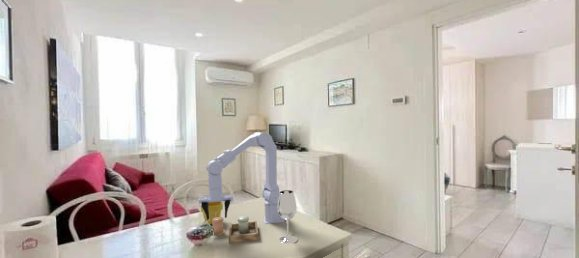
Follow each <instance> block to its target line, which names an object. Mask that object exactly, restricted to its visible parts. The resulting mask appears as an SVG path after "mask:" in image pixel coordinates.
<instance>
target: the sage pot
mask: <svg viewBox="0 0 579 258" xmlns="http://www.w3.org/2000/svg"><path fill="white" fill-rule="evenodd" d="M249 220H250V217H249V216H247V215H241V216H238V217H237V220H236V221H237V223H238V228H239V233H247V232H248V231H249V227H248V222H249Z"/></svg>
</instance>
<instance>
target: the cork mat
mask: <svg viewBox="0 0 579 258" xmlns="http://www.w3.org/2000/svg"><path fill="white" fill-rule="evenodd" d="M225 233H226V229H225V228H223V233H221V234H214V235H213V236H221V235H223V234H225Z"/></svg>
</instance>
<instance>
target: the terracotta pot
mask: <svg viewBox="0 0 579 258" xmlns="http://www.w3.org/2000/svg"><path fill="white" fill-rule="evenodd" d="M223 221H224V217H221V216H220V217H216V218H213V219H212V222H213V225H212V229H213V228H214V234H221V233H223V229H224V222H223ZM223 234H224V233H223ZM221 235H222V234H221Z"/></svg>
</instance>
